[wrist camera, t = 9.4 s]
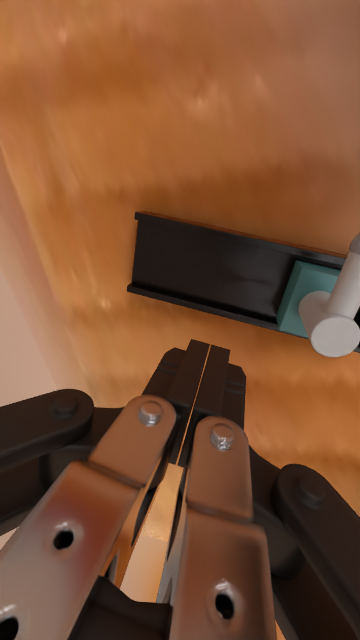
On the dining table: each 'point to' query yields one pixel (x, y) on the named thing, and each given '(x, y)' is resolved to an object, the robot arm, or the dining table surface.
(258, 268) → the rail
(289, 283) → the handle
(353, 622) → the robot arm
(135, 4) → the dining table surface
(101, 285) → the dining table surface
